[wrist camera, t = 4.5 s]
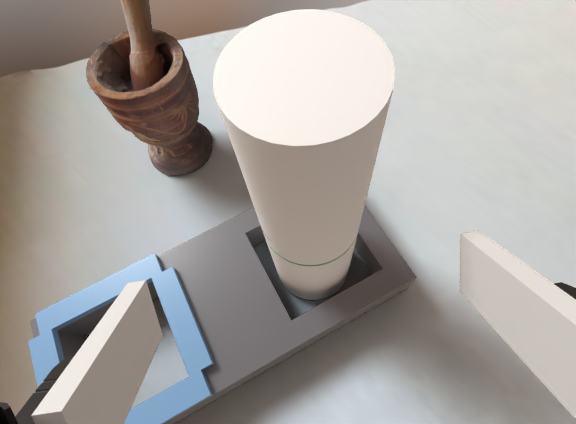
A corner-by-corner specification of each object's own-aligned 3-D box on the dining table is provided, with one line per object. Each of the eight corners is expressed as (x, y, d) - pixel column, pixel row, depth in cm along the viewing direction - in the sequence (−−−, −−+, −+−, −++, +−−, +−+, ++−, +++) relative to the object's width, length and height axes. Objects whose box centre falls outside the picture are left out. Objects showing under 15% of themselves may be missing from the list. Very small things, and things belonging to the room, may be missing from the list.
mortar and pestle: (142, 110, 48) (35, -61, 30) (209, 94, 48) (143, -85, 30) (150, 187, 43) (26, 38, 25) (224, 168, 43) (156, 8, 25)
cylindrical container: (326, 219, 39) (336, -12, 17) (362, 278, 36) (433, 95, 14) (264, 249, 38) (187, 49, 16) (297, 313, 35) (258, 177, 13)
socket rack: (334, 185, 41) (336, 160, 37) (406, 288, 36) (418, 274, 31) (58, 328, 36) (23, 319, 32) (93, 470, 31) (57, 483, 27)
